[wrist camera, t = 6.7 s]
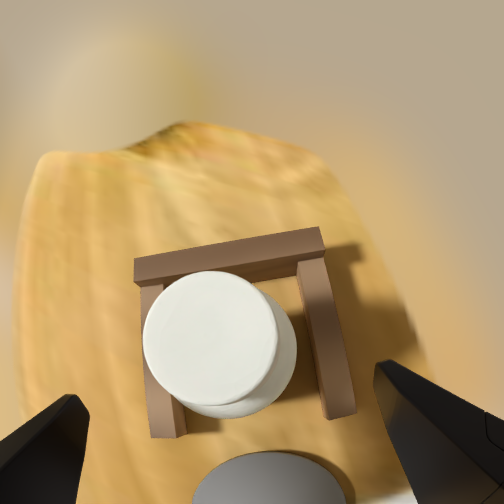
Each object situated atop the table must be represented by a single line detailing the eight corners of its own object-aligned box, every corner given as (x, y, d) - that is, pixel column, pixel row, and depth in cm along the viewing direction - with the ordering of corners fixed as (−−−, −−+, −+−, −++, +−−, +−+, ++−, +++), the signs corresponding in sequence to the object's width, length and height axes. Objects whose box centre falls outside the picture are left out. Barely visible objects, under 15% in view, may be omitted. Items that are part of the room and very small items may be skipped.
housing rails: (348, 410, 15) (362, 414, 12) (164, 433, 15) (143, 440, 12) (313, 250, 19) (318, 226, 17) (152, 277, 19) (134, 258, 17)
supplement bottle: (182, 368, 17) (91, 339, 8) (238, 303, 18) (199, 218, 10) (251, 425, 15) (217, 466, 6) (309, 355, 16) (341, 316, 8)
